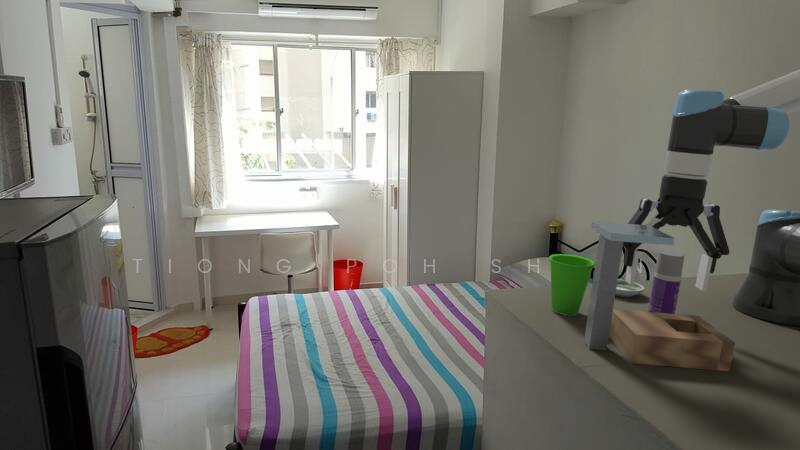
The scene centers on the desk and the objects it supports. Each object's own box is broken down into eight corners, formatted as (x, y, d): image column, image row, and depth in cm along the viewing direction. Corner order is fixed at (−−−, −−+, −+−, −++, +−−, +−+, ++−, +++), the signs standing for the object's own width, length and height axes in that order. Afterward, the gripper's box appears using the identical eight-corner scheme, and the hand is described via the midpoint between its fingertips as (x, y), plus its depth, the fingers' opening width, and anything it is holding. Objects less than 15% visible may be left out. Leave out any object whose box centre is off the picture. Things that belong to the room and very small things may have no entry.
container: (674, 333, 105) (688, 257, 102) (648, 330, 106) (661, 254, 103) (668, 324, 110) (681, 251, 107) (643, 321, 111) (655, 249, 108)
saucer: (630, 288, 134) (632, 278, 133) (651, 302, 124) (652, 291, 124) (592, 286, 133) (593, 276, 132) (609, 300, 124) (611, 289, 123)
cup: (533, 308, 114) (540, 257, 111) (558, 301, 120) (564, 252, 117) (572, 323, 107) (580, 268, 105) (596, 314, 113) (604, 262, 111)
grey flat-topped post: (630, 338, 101) (649, 225, 97) (652, 362, 92) (674, 238, 87) (575, 333, 102) (592, 221, 97) (592, 357, 92) (610, 233, 88)
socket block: (694, 341, 102) (698, 316, 101) (729, 371, 90) (735, 342, 89) (606, 334, 102) (610, 308, 101) (630, 363, 91) (635, 334, 90)
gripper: (741, 179, 105) (720, 285, 110) (610, 168, 106) (593, 274, 110) (765, 184, 98) (741, 297, 102) (624, 172, 99) (606, 285, 103)
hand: (664, 285), depth 106 cm, fingers open, 13 cm apart
